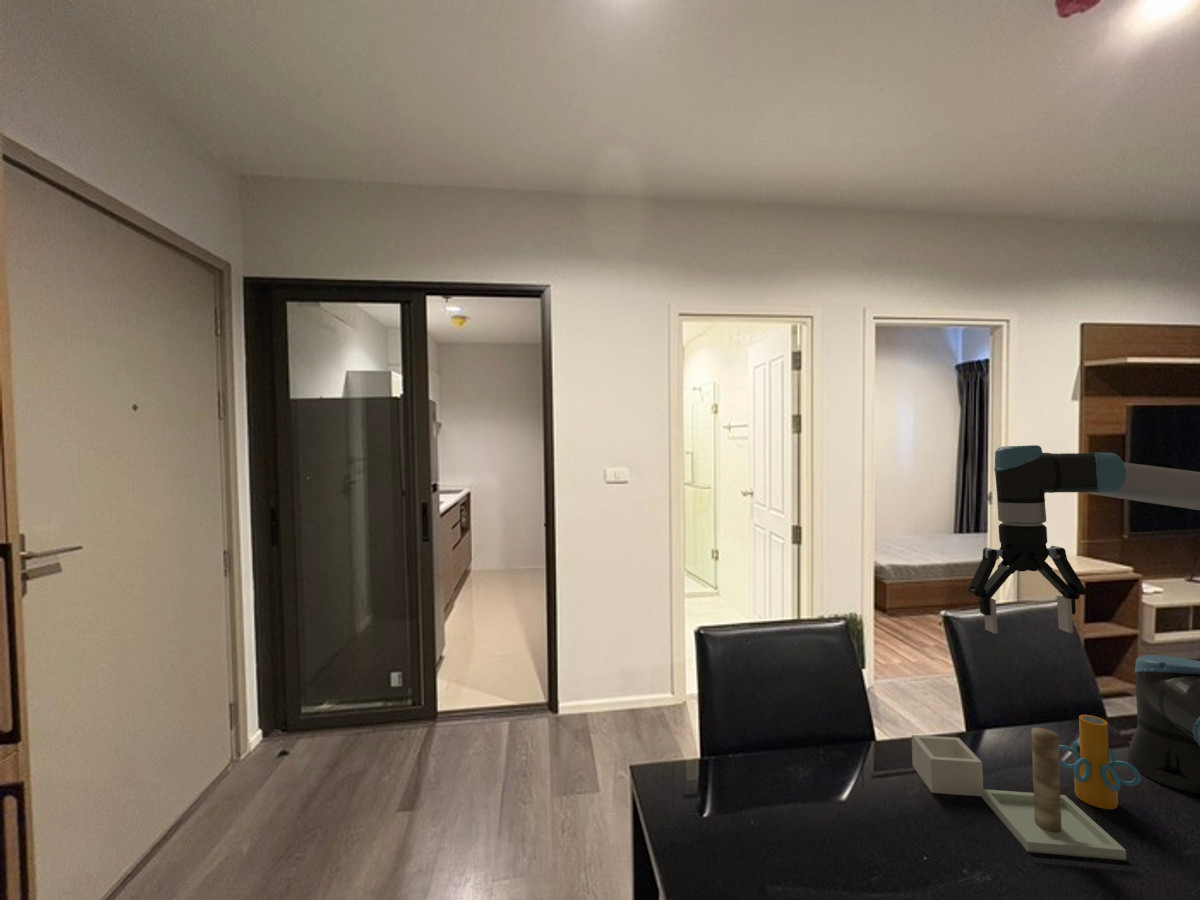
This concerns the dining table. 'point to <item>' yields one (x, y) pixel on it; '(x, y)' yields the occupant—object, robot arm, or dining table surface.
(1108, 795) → the tube with teal loops
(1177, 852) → the dining table surface
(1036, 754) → the dowel
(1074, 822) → the tray
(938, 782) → the hollow square block
